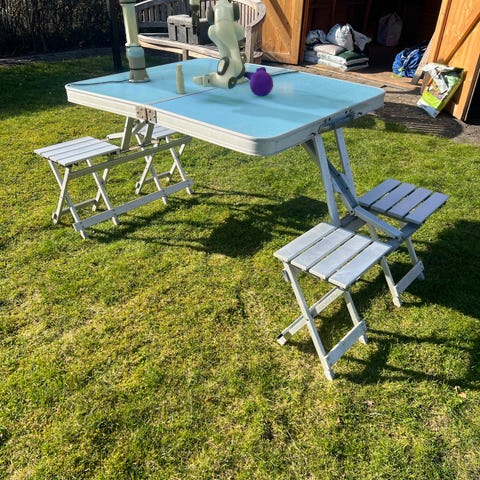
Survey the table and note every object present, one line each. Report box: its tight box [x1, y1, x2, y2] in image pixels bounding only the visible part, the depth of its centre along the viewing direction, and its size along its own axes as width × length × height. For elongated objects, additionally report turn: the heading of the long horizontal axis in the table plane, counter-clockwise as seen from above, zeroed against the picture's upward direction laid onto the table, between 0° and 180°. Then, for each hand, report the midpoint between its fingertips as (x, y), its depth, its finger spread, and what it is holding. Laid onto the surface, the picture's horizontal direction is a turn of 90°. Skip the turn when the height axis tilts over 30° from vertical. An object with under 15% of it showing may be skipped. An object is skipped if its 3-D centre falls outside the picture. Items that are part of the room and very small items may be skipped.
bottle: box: [175, 69, 186, 95], centre depth 298 cm, size 5×5×18 cm
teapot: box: [241, 52, 248, 65], centre depth 367 cm, size 21×12×15 cm, turn 120°
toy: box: [244, 66, 274, 97], centre depth 289 cm, size 16×18×27 cm
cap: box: [175, 63, 183, 70], centre depth 294 cm, size 4×4×2 cm
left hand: (196, 35), depth 349 cm, fingers open, 13 cm apart
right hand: (200, 77), depth 283 cm, fingers open, 8 cm apart
